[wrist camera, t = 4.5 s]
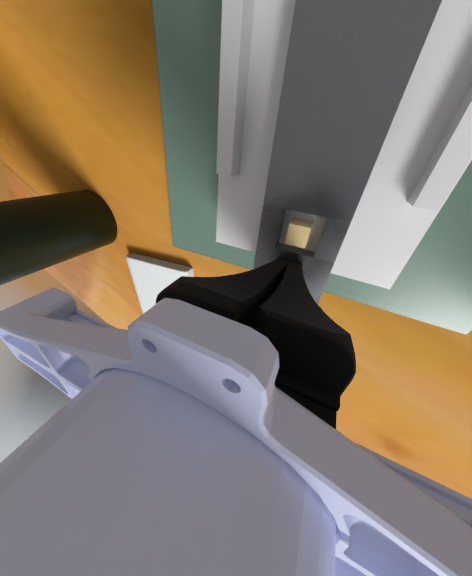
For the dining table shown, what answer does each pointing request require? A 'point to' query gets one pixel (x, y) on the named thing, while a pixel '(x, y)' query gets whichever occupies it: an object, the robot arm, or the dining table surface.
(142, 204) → the dining table surface
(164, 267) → the external hard drive
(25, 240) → the wine bottle
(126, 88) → the dining table surface
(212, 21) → the green base plate
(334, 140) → the strap
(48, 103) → the dining table surface
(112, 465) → the robot arm
